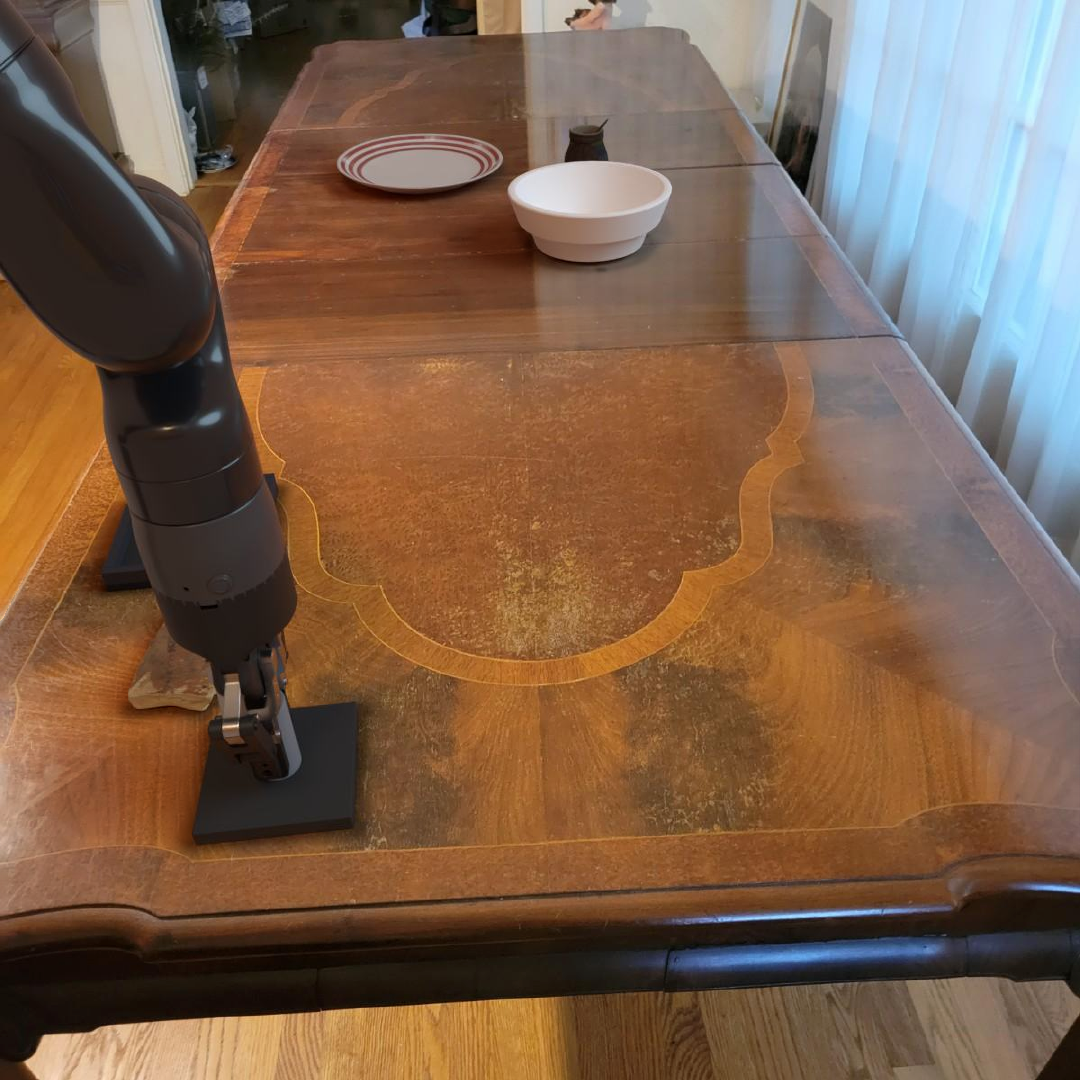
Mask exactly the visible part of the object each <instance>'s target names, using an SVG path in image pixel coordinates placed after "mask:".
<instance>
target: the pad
mask: <svg viewBox="0 0 1080 1080" xmlns="http://www.w3.org/2000/svg"><path fill="white" fill-rule="evenodd" d="M280 694H281V699H282V701H281V706H280V711H279V714H278V716H277V719H278V724H279V728H280V730H281V733H282V740H283V743H284V747H285V750H286V754H287V757H288V761H289V764H290V766H289V774H288V776H287V777H285V778H280V779H271V780H261V781H259V780H258V779H256V778H255V777H254V774H253V771H252V768H251V765H250V762H244V763H242V764H232V763H231V761H230V760H229V759H228V758H227V757H226V756H225V755H224V754H223V753H222V752H221V751H220V750H219V749H218V748H217V747H216V746H215V744H214V743H213V742H212V741H211V740H210V739H209V744H208V750H207V755H206V760H205V766H204V771H203V775H202V782H201V787H200V792H199V795H198V796H199V797H198V801H197V808H196V811H195V817H194V822H193V826H192V827H193V828H192V833H191V836H192V838H193V840H194V843H195V846H203V845H213V844H220V843H232V842H240V841H245V840H246V841H247V840H256V839H265V838H274V837H284V836H291V835H300V834H302V835H303V834H311V833H319V832H328V831H329V832H330V831H337V830H345V829H353V828H354V827H355V824H354V822H355V802H356V801H355V799H356V779H357V777H356V776H357V771H356V770H357V752H358V751H357V750H358V729H359V728H358V727H359V710H358V709H359V708H358V704H357V702H356V701H347V702H338V703H337V702H336V703H328V704H327V703H326V704H318V705H309V706H298V707H290V709H291V713H292V717H293V720H294V729H293V725H292V721H291V718H290V714H289V710H288V707H287V703H286V700H285V696H284V694H283V693H282V691H280ZM264 697H266V696H264ZM219 717H222V714H220V715H215V716H214V718H213V719H217V718H219ZM260 723H261V724H262V725H266V723H265V721H264V720H263V719H260Z"/></svg>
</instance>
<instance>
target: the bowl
mask: <svg viewBox="0 0 1080 1080" xmlns="http://www.w3.org/2000/svg"><path fill="white" fill-rule="evenodd" d="M672 191H673V186H672V184H671V182H670V180H669V179H668V178H667V177H666V176H665V175H663V173H662V174H661V173H660V172H658V171H656V170H653V169H650V168H648V167H645V166H641V165H637V164H634V163H633V164H632V163H625V162H620V161H619V162H618V161H609V160H608V161H577V162H567V163H565V162H559V163H554V164H548V165H544V166H540V167H537V168H534V169H531V170H528V171H526V172H524V173H522V174H520V175H518V176H517V177H515V178H514V179H513V180H512V181H511V182H510V183H509V185H508V187H507V196H508V199H509V201H510V204H511V207H512V209H513V211H514V214H515V217H516V220H517V223H518V224H519V225H520V227H521V228H522V229H524V231H525V232H527V233H528V234H531V236H532V239H533V241H534V244H535V246H536V248H537V249H538V250H540V252H542V253H544V254H545V255H547V256H550V257H552V258H555V259H559V260H564V261H569V262H579V263H597V262H607V261H612V260H616V259H620V258H623V257H627V256H629V255H631V254H634V253H636V252H637V251H638V250H639V249H641V247H642V246H643V244H644V242H645V239H646V237H647V234H648V233H649V232H651V231H652V230H654V229H655V228H656V227H657V226H658V225H659V224H660V222H661V220H662V218H663V216H664V213H665V210H666V208H667V205H668V203H669V200H670V197H671V195H672Z"/></svg>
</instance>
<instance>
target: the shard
mask: <svg viewBox="0 0 1080 1080" xmlns="http://www.w3.org/2000/svg"><path fill="white" fill-rule="evenodd" d="M137 666H138V667H137V669H136V671H135V673H134V676H133V677H134V679H133V681H132V683H131V685H130V686H129V688H128V691H127V694H128V698H127V701H128V702H129V703H130V704H131V705H132V706H133V708H134V709H136V710H143V709H151V708H152V709H153V708H159V707H167V706H169V707H171V706H172V707H179V708H182V709H187V710H191V711H199V712H204V711H206V710H207V708H208V707H209V706H210V703H211V702H212V701H213V698H214V696H215V695H217V694H216V690H215V687H214V686H213V685H212V684H211V683H210V682H209V680H208V676H207V672H206V668H205V658H203V657H201V656H199V655H197V654H195V653H192V652H190V651H188V650H186V649H184V648H182V647H181V646H179V645H178V644H177V643H176V642H175V641H174V640H173V639H172V638H171V636H170V635H169V633H168V630H167V628H166V625H165V622H164V621H163V623H162V624H161V627H160V628H159V630H158V631H157V632H156V634H155V635H154V636H153V639H152V640H151V642H150V644H149V647H148V648H147V649H146V651H145V652H144V654H143V657H142V660H141V662H140V663H139V665H137Z"/></svg>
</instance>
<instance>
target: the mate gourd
mask: <svg viewBox="0 0 1080 1080" xmlns="http://www.w3.org/2000/svg"><path fill="white" fill-rule="evenodd" d="M609 119H610V118H607V119H605V120H604V121H603V122H602V123H601V125H596V124H577V125H573V126H572V127H570V128H569V129H568V139H569V141H568V146H567V148H566V150H565V154H564V162H563V163H567V162H577V161H609V154H608V151H607V149H606V146H605V143H604V133H605V131H604V126H605V125H606V124H607V123H608V121H609Z"/></svg>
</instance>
